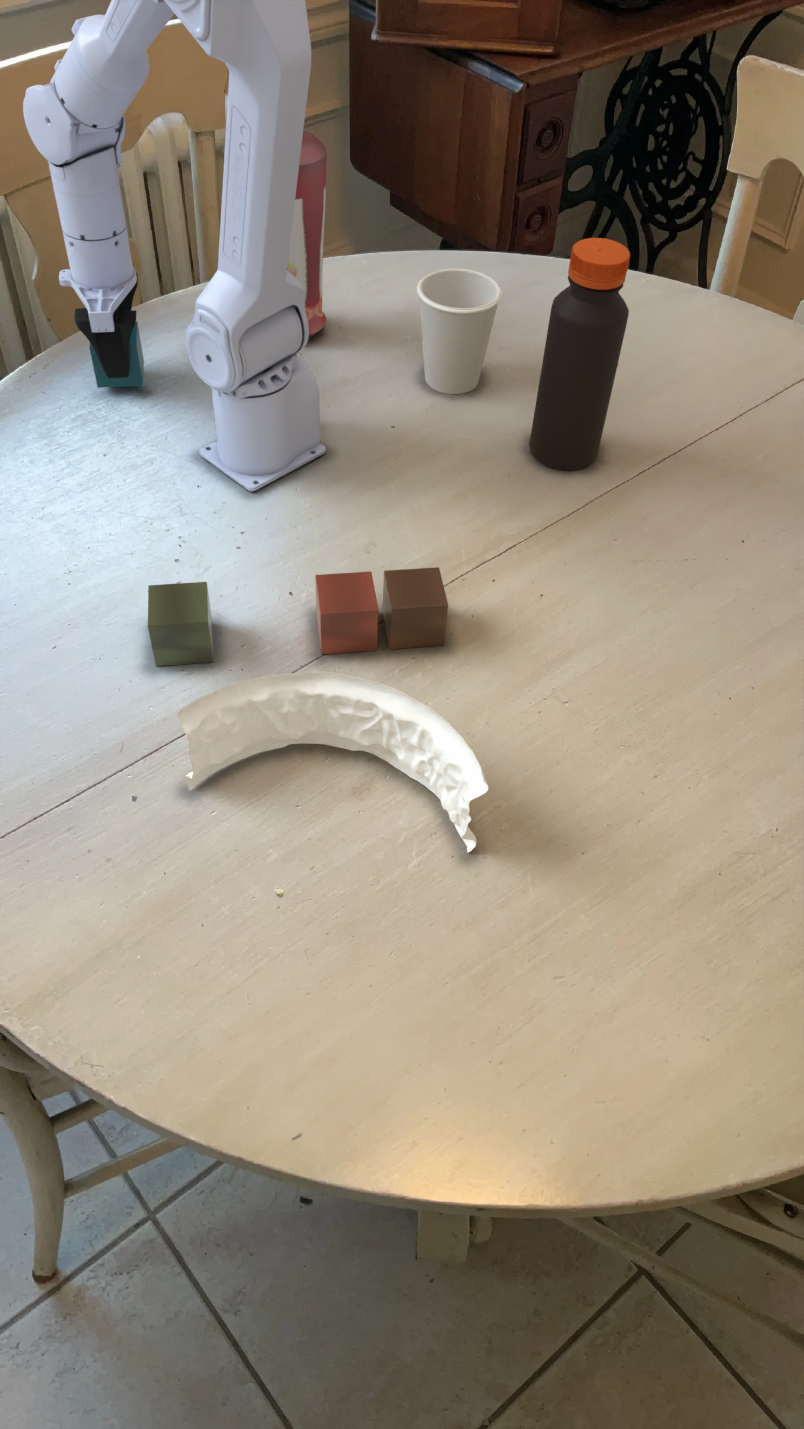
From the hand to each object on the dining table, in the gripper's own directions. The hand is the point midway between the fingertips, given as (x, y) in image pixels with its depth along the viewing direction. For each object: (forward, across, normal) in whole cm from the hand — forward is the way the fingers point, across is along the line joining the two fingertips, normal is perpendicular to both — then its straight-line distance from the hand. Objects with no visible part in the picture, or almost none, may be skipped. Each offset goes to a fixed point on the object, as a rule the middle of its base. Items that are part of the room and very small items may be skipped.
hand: (118, 361), depth 106 cm
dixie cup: (+3, +2, +34) cm, 34 cm away
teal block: (+1, 0, 0) cm, 1 cm away
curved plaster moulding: (+3, +54, +16) cm, 57 cm away
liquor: (+2, -9, +18) cm, 21 cm away
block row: (+3, +38, +15) cm, 41 cm away
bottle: (+3, +15, +43) cm, 45 cm away
